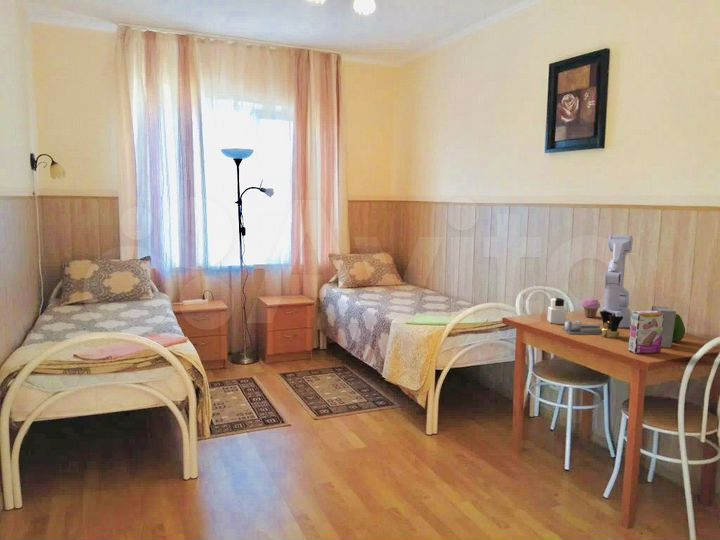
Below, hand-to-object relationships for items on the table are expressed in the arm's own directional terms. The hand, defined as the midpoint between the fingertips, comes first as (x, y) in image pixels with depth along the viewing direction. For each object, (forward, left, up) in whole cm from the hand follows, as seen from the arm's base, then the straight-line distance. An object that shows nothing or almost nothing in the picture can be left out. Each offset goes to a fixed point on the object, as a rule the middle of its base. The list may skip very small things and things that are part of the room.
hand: (610, 329), depth 241 cm
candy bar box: (-3, +24, -4) cm, 25 cm away
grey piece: (+8, -9, -3) cm, 12 cm away
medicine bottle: (+14, -28, -4) cm, 31 cm away
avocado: (-24, +7, -4) cm, 25 cm away
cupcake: (-8, -41, -4) cm, 42 cm away
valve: (0, 0, -3) cm, 3 cm away
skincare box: (-15, +13, -4) cm, 20 cm away
